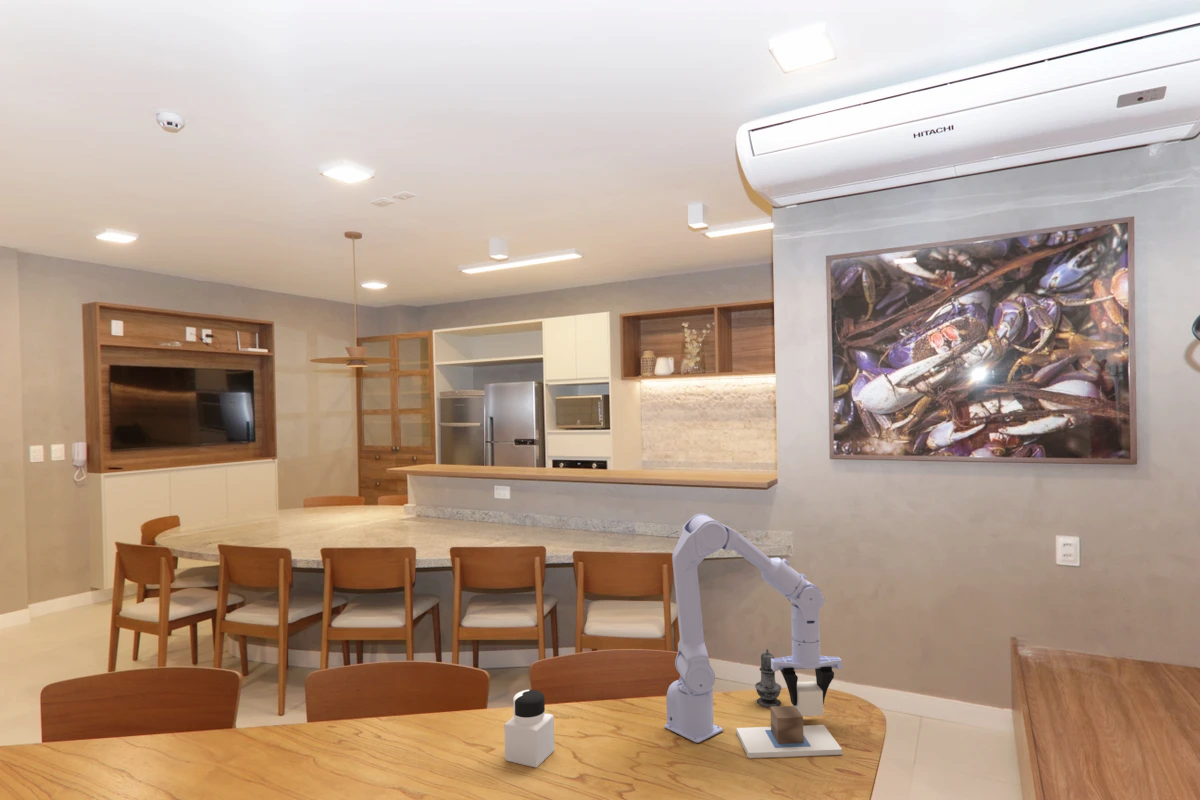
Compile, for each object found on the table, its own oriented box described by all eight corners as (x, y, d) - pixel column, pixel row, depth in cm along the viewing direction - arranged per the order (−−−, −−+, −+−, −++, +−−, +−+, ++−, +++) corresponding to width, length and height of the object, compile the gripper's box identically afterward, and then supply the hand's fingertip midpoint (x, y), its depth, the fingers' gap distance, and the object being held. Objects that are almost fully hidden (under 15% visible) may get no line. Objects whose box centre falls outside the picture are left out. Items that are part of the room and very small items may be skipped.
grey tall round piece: (785, 708, 149) (783, 653, 149) (758, 708, 149) (756, 653, 149) (778, 696, 155) (777, 644, 155) (752, 697, 155) (751, 644, 155)
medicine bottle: (555, 750, 133) (553, 689, 133) (536, 768, 126) (535, 704, 126) (523, 744, 136) (522, 683, 136) (504, 761, 129) (503, 698, 129)
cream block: (799, 716, 139) (798, 691, 140) (791, 705, 144) (791, 682, 144) (823, 715, 140) (822, 691, 140) (815, 704, 145) (814, 681, 145)
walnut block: (778, 743, 131) (777, 717, 131) (771, 731, 136) (770, 706, 136) (803, 743, 131) (803, 717, 131) (795, 730, 136) (795, 705, 136)
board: (748, 758, 128) (748, 752, 128) (736, 732, 138) (736, 727, 138) (842, 754, 129) (842, 748, 129) (823, 729, 139) (823, 724, 139)
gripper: (832, 631, 146) (834, 694, 146) (766, 632, 146) (767, 696, 146) (845, 642, 139) (846, 708, 139) (775, 644, 139) (777, 710, 139)
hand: (807, 703), depth 142 cm, fingers closed on cream block, 5 cm apart
